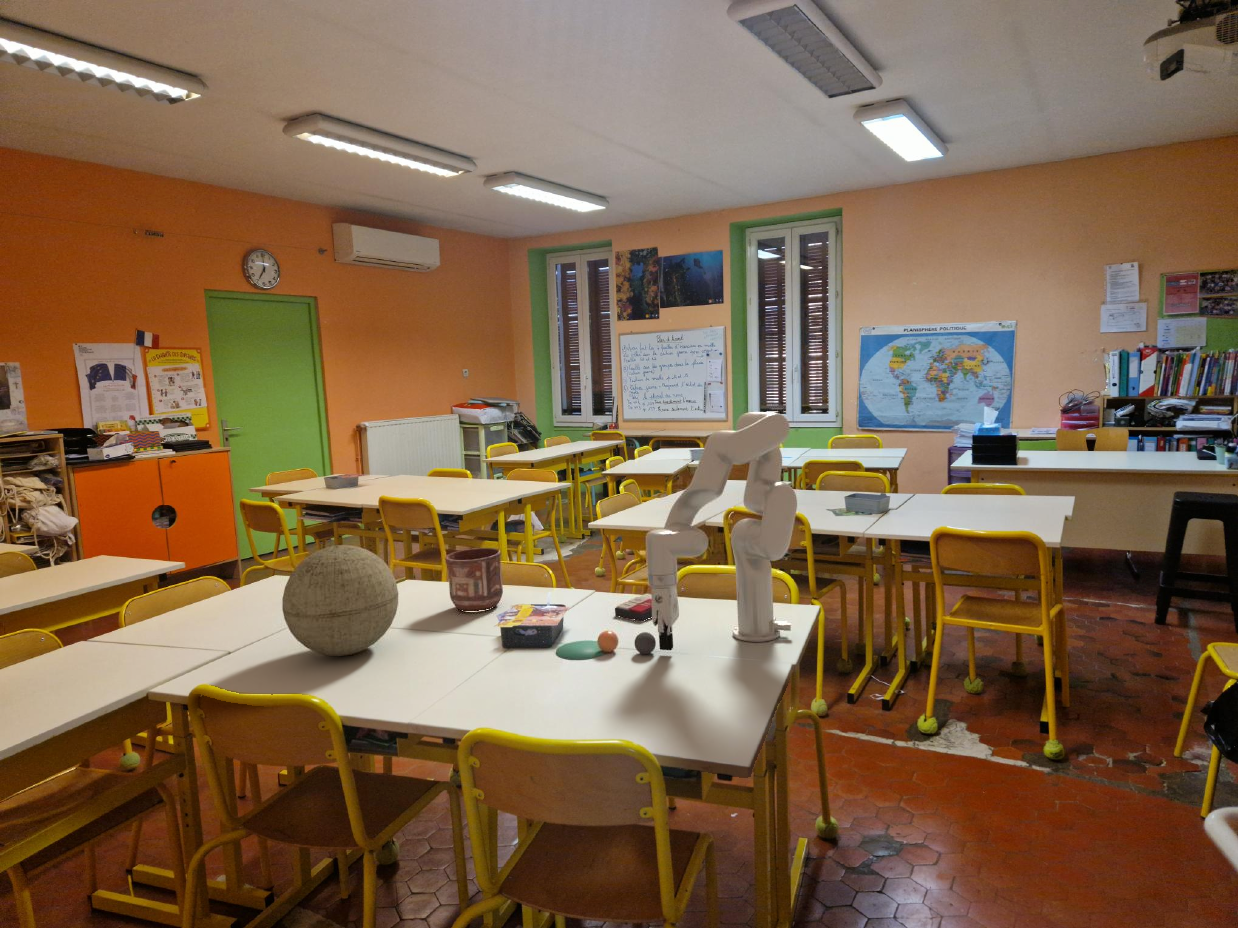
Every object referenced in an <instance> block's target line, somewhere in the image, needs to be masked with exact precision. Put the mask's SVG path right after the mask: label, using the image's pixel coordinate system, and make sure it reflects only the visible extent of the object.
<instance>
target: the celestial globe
mask: <svg viewBox="0 0 1238 928" xmlns="http://www.w3.org/2000/svg"><path fill="white" fill-rule="evenodd" d="M281 602H282V603H281V604H282V607H281V608H282V613H283V619H284V621H285V623H286V625H287V627H288V630H289V631H290V633H291V635H292V636H293V637H294V638H295V640H296V641H298V642H299V643H300V644H301V645H303V646H304V647H305V648H307V649H308V650H310V651H313V652H315V653H317V654H320V655H324V656H330V657H342V656H343V657H344V656H349V655H353V654H358V653H360V652H363V651H365V650H366V649H368V648H369V647H371V646H373V645H374V644H375V643H377V642H379V640H380V639H382V637H383V636H384V635H386V634H387V632H388V630H389V629H390V627H391V625H392V623H393V622H394V619H395V618H396V615H397V611H398V606H399V590H398V585H397V580H396V578H395V576H394V573H393V571H392V570H391V569H390V567H389V565H388V564H387V563H386V562H385V561H384V560H383V559H382V558H381V557H380V556H378V555H377V554H375V553H374V552H372V551H370V550H368V549H365V548H362V547H359V546H357V545H346V544H339V545H338V544H337V545H331V546H327V547H325V548H322V549H319V550H317V551H315V552H312V554H310V555H309V556H307V557H306V558H304V559H303V560H301V562H300V563H298V565H297V566H296V567H295V568H294V570H293V571H292V572H291V574H290V575H289V578H288V579H287V581H286V584H285V587H284V589H283V595H282V601H281Z"/></svg>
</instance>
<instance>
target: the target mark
mask: <svg viewBox="0 0 1238 928" xmlns="http://www.w3.org/2000/svg"><path fill="white" fill-rule="evenodd" d="M555 653H556V656H558V657H560V658H562V659H564V660H570V661H571V660H572V661H573V660H575V661H581V660H591V659H596V658H598V657H601V656H603V655H606V653H607V652H604V651H602V650H601V649H600V648H599V646H598V643H597V640H576V641H571V642H568V643H565V644H562V645H560V646H559V647H557V648H556V650H555Z"/></svg>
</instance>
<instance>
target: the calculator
mask: <svg viewBox="0 0 1238 928" xmlns="http://www.w3.org/2000/svg"><path fill="white" fill-rule="evenodd" d="M651 595H652V593H644V594H642V595H639V596H636V597H634V598H631V599H629V600H628V601H624V602H623V603H621V604H617V605H616V607H614V613H615V617H617V616H620V617H619V618H621V617H623V618H622V619H626V618H628V619H627V620H630V619H635V620H639V621H644V620H646V619H648V618H651V617H652V596H651ZM651 619H652V618H651ZM635 620H634V621H635ZM639 621H638V622H639ZM646 621H647V620H646ZM644 622H645V621H644Z"/></svg>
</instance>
